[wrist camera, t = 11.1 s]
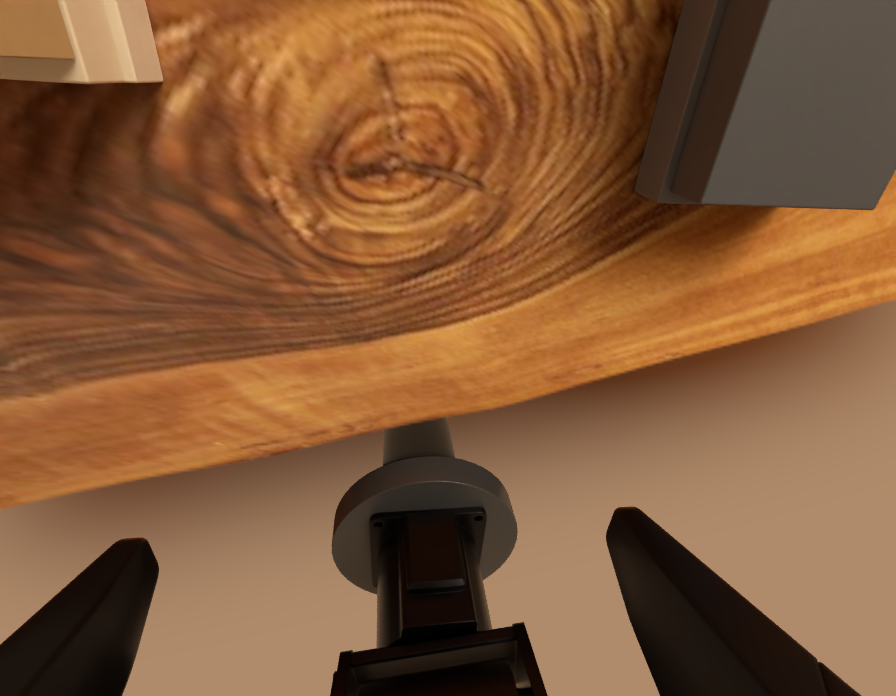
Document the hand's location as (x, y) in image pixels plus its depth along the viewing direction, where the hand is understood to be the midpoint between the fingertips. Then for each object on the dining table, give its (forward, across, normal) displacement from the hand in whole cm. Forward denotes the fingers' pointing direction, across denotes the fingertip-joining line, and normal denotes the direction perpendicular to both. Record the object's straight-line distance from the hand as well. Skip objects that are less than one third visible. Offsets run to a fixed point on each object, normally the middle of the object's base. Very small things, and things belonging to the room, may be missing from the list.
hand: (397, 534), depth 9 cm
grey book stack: (+13, -14, -9) cm, 21 cm away
